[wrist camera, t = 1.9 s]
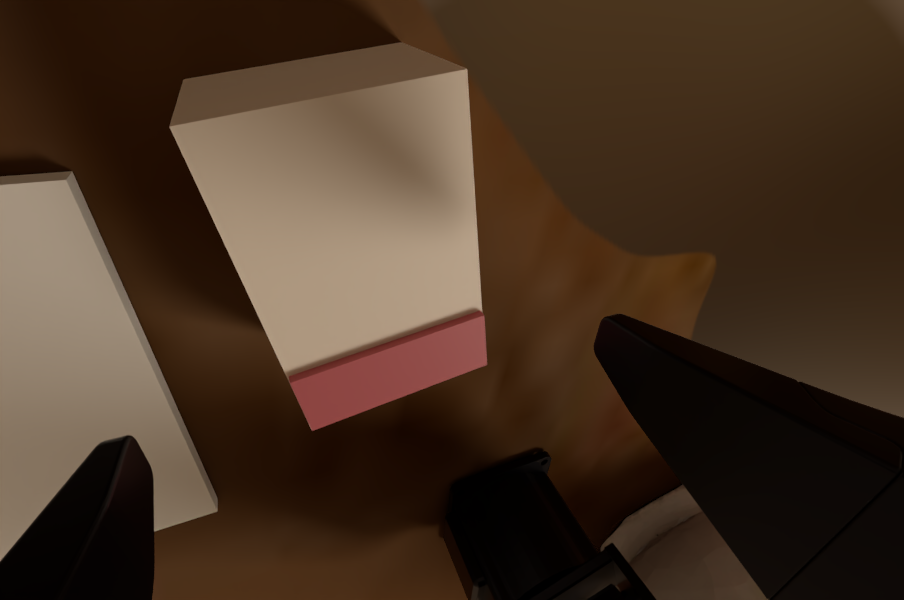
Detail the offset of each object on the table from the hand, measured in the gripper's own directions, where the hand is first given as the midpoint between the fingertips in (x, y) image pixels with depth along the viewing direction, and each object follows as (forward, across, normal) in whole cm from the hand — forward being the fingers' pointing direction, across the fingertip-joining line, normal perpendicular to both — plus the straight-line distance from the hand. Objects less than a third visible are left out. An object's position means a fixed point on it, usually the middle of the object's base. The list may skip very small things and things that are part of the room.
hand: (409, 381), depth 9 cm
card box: (+8, 0, 0) cm, 8 cm away
